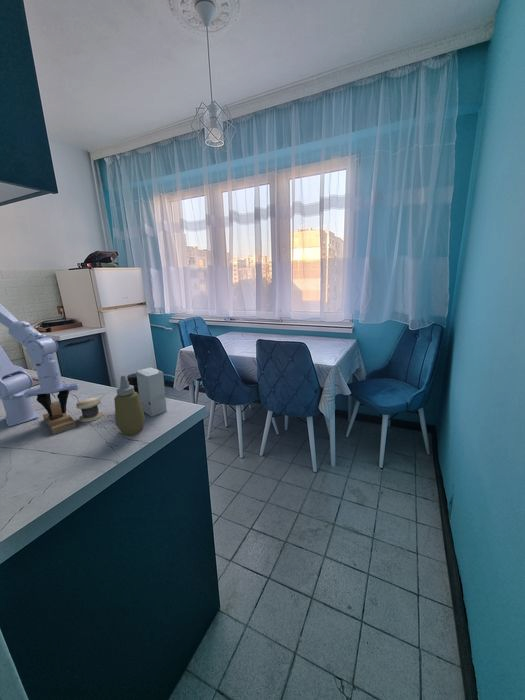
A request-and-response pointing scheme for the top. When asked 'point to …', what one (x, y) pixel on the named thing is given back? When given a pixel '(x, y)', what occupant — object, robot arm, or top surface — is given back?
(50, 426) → the notched board
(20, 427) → the top surface
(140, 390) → the skincare box
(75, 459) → the top surface
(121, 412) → the squeeze bottle
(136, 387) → the supplement bottle
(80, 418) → the spool
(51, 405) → the brown wooden block
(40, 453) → the top surface
